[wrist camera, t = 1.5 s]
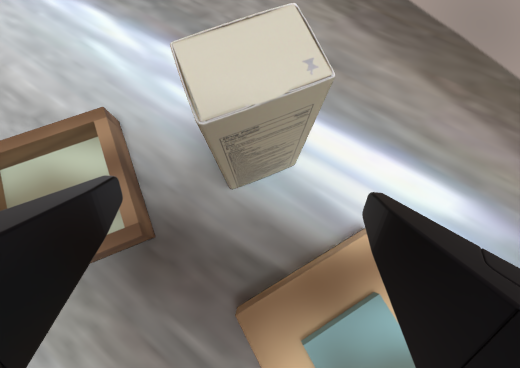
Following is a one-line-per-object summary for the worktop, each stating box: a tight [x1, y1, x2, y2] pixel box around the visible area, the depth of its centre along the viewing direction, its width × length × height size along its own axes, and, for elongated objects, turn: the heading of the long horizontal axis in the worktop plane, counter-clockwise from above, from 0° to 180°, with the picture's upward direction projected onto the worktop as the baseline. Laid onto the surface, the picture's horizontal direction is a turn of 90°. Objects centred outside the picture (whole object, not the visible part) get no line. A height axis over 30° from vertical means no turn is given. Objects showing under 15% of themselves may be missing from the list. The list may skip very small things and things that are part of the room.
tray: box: [0, 107, 155, 263], centre depth 20 cm, size 11×11×2 cm
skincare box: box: [170, 3, 335, 189], centre depth 17 cm, size 6×4×12 cm
